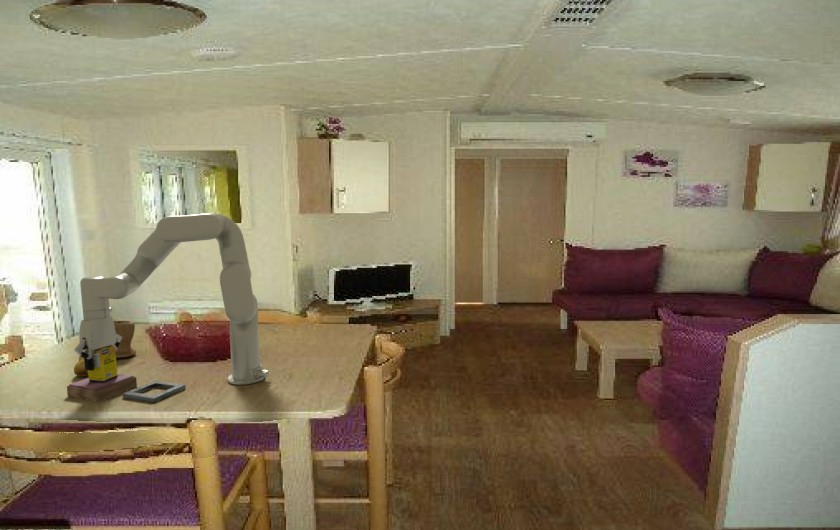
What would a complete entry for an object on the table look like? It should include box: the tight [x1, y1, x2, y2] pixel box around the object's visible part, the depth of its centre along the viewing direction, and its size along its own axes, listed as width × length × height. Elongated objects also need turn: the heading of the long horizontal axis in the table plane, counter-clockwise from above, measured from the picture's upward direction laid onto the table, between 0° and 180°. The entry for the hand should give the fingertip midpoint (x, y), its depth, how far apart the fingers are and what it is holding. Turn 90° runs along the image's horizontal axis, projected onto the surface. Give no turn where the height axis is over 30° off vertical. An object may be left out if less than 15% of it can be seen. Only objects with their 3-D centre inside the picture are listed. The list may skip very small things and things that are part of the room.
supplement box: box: [88, 346, 118, 383], centre depth 172 cm, size 6×6×11 cm
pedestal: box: [66, 373, 138, 402], centre depth 172 cm, size 14×14×4 cm
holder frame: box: [122, 380, 186, 404], centre depth 170 cm, size 13×13×2 cm
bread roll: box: [73, 355, 89, 378], centre depth 190 cm, size 13×10×8 cm
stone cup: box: [113, 320, 137, 359], centre depth 212 cm, size 15×12×15 cm
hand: (101, 366), depth 172 cm, fingers open, 7 cm apart
